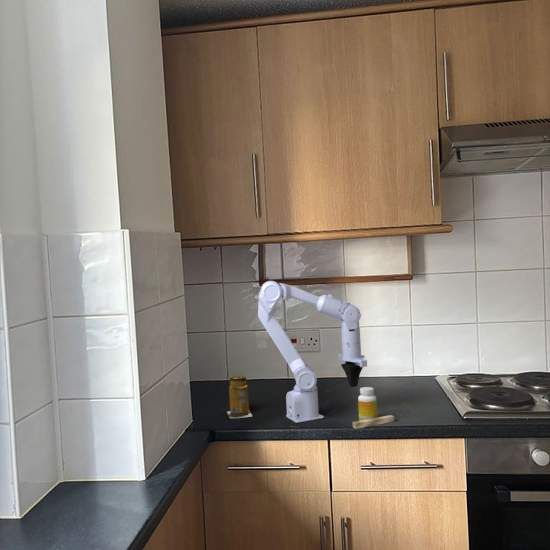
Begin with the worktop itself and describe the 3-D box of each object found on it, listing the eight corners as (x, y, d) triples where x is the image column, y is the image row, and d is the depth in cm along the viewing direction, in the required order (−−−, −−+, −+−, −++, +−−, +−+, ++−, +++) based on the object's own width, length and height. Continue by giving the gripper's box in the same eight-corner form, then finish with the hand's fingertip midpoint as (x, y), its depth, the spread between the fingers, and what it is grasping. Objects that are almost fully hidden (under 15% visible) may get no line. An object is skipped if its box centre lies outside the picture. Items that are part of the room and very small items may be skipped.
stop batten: (356, 428, 163) (355, 423, 163) (352, 427, 165) (352, 422, 165) (394, 421, 168) (394, 416, 168) (391, 419, 170) (390, 414, 170)
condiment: (248, 409, 189) (246, 374, 189) (252, 416, 181) (250, 379, 181) (227, 412, 188) (224, 376, 188) (229, 419, 180) (227, 381, 179)
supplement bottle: (377, 423, 167) (375, 390, 167) (358, 423, 168) (357, 390, 168) (377, 418, 172) (376, 386, 172) (359, 418, 173) (358, 386, 173)
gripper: (374, 344, 172) (377, 389, 172) (350, 338, 185) (352, 380, 186) (354, 347, 169) (356, 392, 169) (331, 341, 182) (333, 383, 183)
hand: (353, 386), depth 177 cm, fingers closed
